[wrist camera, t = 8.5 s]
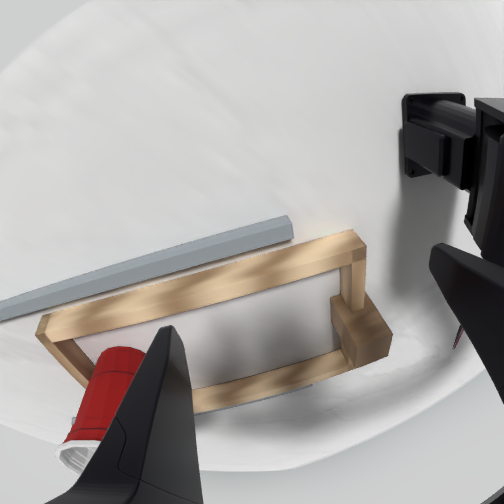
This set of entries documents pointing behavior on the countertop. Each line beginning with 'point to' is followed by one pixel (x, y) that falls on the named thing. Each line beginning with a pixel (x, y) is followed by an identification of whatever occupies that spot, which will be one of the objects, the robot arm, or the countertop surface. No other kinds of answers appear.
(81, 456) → the plastic cup
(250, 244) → the lane rails
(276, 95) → the countertop surface
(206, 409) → the wooden rectangular frame
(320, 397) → the countertop surface
